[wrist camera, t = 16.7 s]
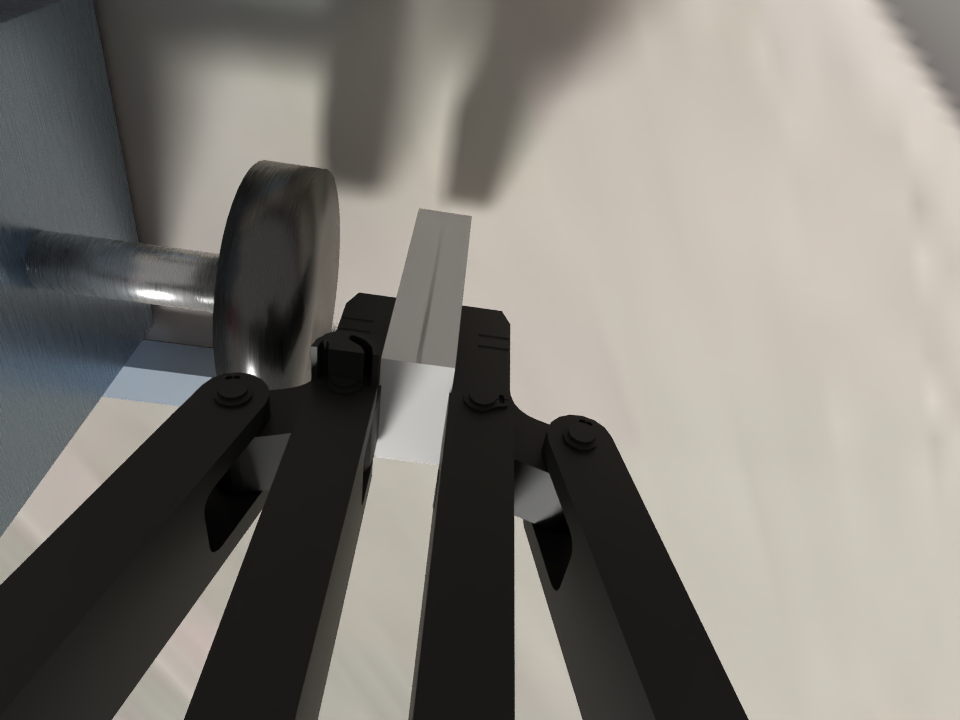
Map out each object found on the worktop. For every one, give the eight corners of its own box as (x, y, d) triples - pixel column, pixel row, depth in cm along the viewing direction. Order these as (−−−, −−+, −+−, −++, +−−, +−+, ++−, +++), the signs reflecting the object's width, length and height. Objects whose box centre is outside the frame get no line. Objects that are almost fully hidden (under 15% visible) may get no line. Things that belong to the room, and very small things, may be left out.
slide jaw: (74, 312, 22) (-126, 534, 15) (-20, -28, 16) (-425, 78, 9) (346, 348, 23) (274, 578, 16) (354, 31, 17) (243, 175, 10)
